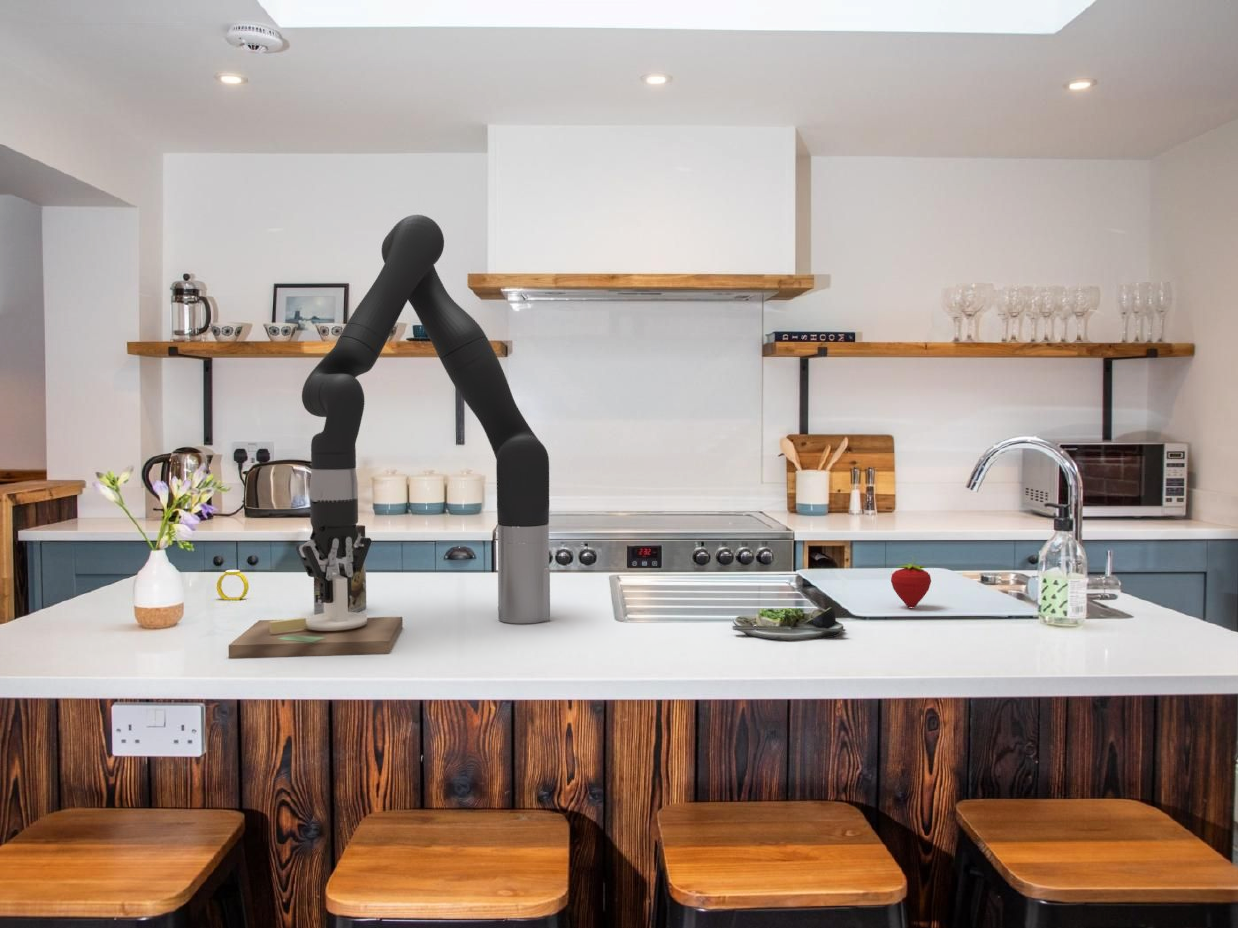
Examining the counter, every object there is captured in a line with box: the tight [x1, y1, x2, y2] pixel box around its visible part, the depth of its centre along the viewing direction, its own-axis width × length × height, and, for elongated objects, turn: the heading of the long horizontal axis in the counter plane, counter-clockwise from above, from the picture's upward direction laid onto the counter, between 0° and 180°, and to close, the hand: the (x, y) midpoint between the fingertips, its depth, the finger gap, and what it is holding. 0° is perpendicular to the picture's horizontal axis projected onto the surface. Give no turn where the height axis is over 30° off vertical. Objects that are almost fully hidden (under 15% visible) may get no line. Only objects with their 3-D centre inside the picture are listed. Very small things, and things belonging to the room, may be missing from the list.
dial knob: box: [269, 573, 368, 633], centre depth 159 cm, size 16×10×8 cm, turn 124°
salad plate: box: [732, 606, 846, 641], centre depth 166 cm, size 19×18×5 cm
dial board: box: [228, 616, 404, 659], centre depth 159 cm, size 24×18×2 cm
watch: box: [216, 569, 249, 601], centre depth 196 cm, size 6×3×6 cm, turn 87°
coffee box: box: [313, 524, 367, 615], centre depth 182 cm, size 9×6×16 cm
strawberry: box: [890, 554, 932, 608], centre depth 184 cm, size 6×8×10 cm
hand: (335, 600), depth 160 cm, fingers closed on dial knob, 2 cm apart
